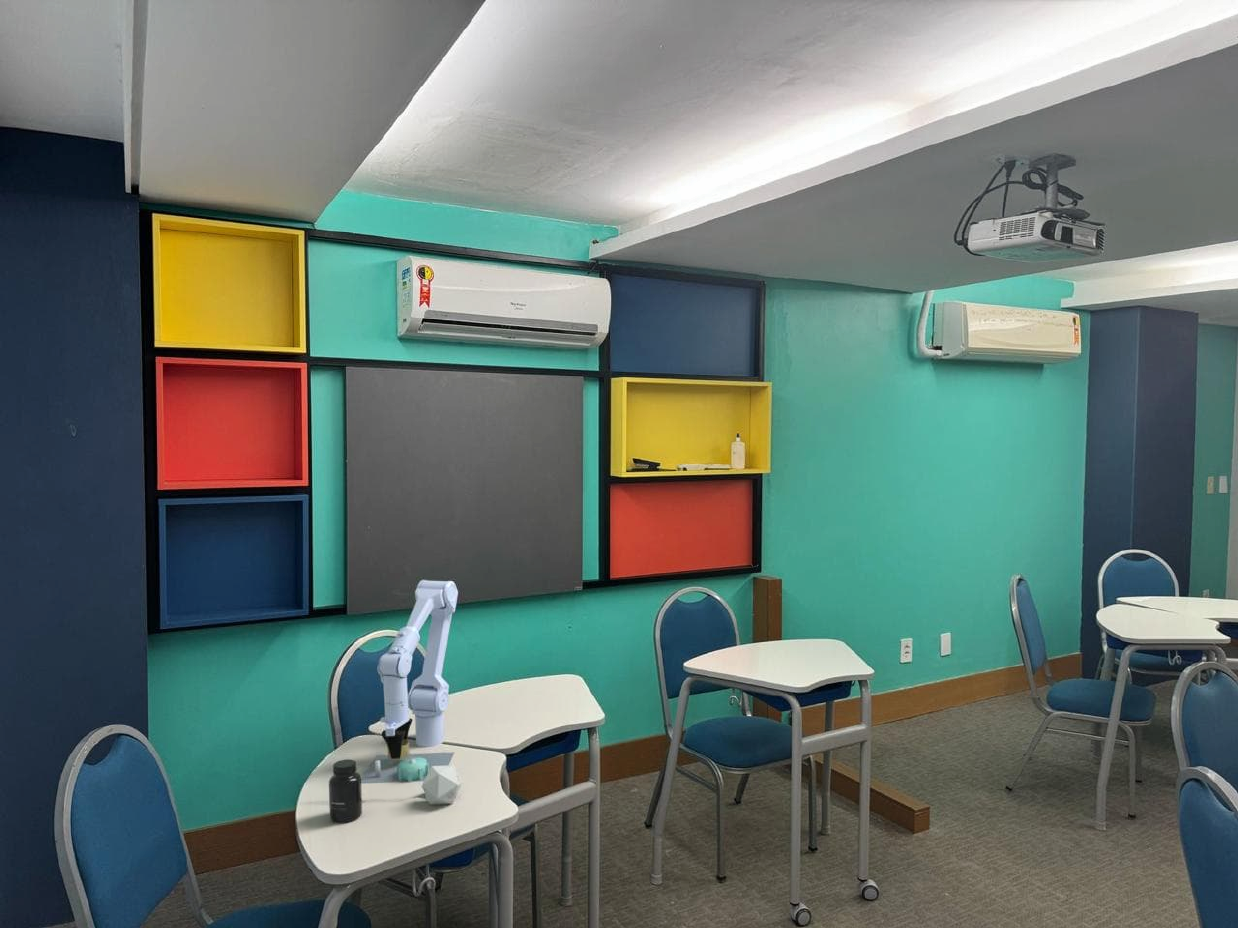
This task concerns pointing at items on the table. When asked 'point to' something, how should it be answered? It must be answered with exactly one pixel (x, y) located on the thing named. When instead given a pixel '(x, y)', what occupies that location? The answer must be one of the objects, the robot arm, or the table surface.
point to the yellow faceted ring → (404, 751)
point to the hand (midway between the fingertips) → (398, 753)
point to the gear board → (392, 766)
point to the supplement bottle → (345, 792)
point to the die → (441, 784)
